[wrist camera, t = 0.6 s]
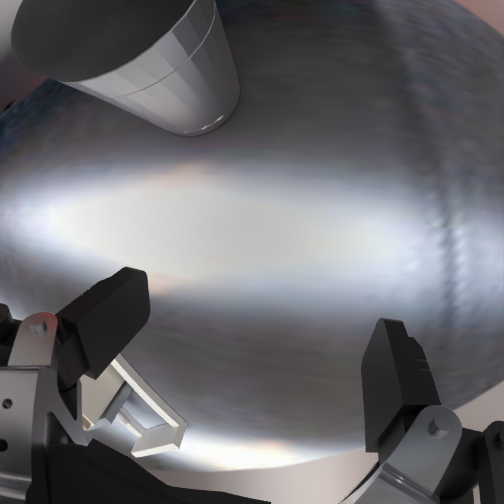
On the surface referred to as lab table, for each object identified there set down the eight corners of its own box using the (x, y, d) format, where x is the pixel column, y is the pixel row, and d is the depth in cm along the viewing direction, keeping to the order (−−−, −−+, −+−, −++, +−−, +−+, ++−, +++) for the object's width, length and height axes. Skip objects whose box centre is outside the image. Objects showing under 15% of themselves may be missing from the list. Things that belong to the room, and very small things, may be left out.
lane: (52, 332, 32) (32, 347, 27) (83, 305, 31) (60, 321, 26) (146, 435, 36) (136, 457, 31) (187, 423, 34) (179, 448, 29)
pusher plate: (106, 390, 33) (81, 425, 26) (130, 379, 32) (105, 418, 25) (124, 409, 34) (103, 445, 26) (150, 400, 33) (129, 440, 25)
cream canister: (84, 360, 33) (42, 405, 22) (102, 348, 32) (58, 397, 21) (107, 386, 34) (72, 435, 23) (127, 376, 33) (90, 430, 22)
